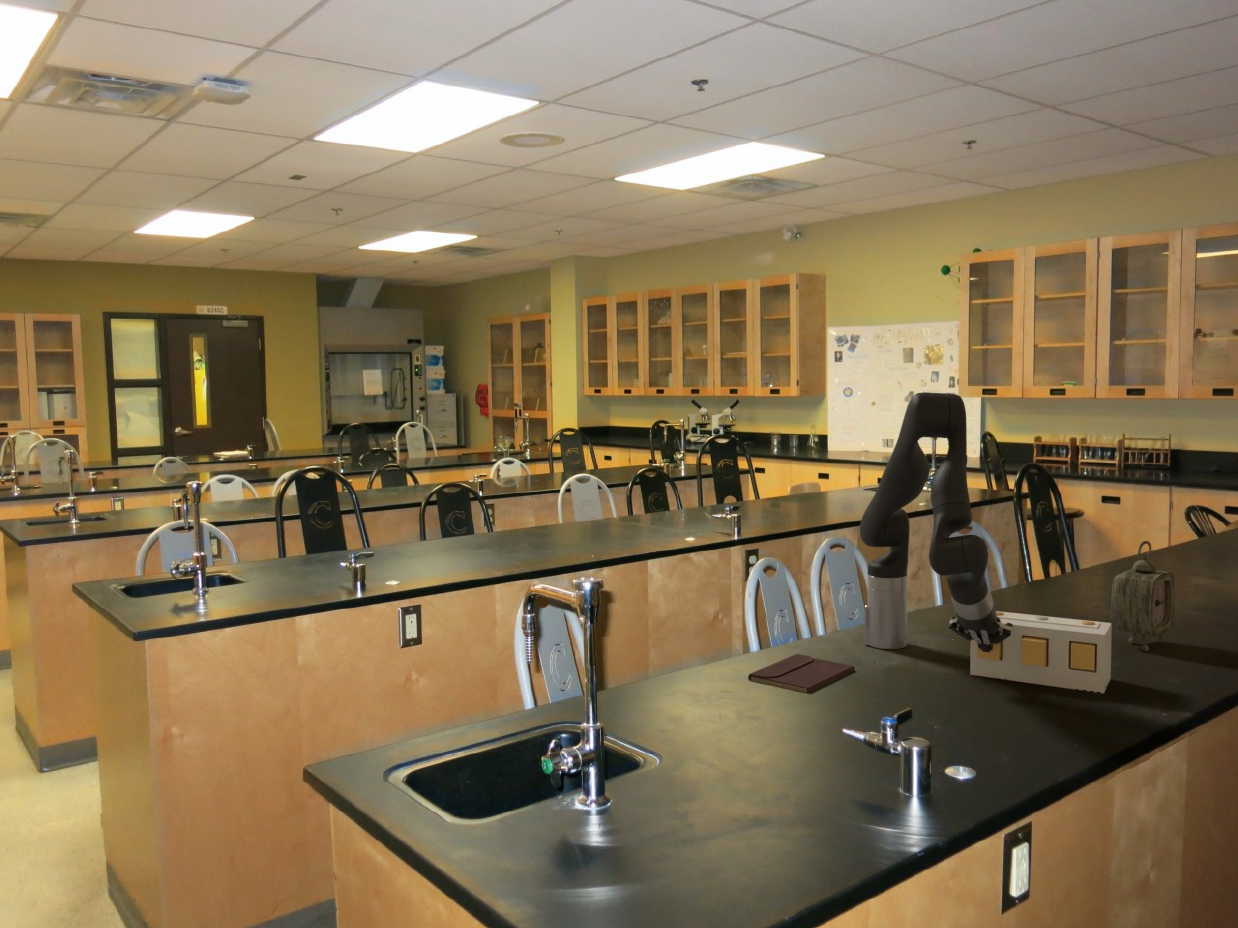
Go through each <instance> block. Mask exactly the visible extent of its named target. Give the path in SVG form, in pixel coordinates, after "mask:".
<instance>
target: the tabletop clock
mask: <svg viewBox="0 0 1238 928" xmlns="http://www.w3.org/2000/svg"><path fill="white" fill-rule="evenodd" d="M1145 545H1147V546H1148V552H1142V555H1141V551H1142V548H1143V547H1144V546H1145ZM1138 546H1139V547H1138V551H1137V554H1138V558H1139V560H1137V561H1135V562H1134V564H1133V566H1132V568H1131V569H1129V570H1125V571H1122V572H1121V573H1119V574H1116V575H1115V576H1114V577H1113V580H1112V586H1111V600H1110V601H1111V603H1110V604H1111V605H1110V607H1111V616H1110V617H1111V623H1112V626H1114V627H1115V628H1116V629H1118V630H1120V631H1121V632H1127V633H1132V636H1131V637H1129V638H1128V643H1129V644H1131V645H1135V644H1136V642H1137V638H1136V636H1137V635H1139V638H1140V641H1141V643H1142V645H1141V646H1140V649H1141V651H1143V652H1145V653H1147V652H1148V651H1149V650H1150V647H1149V645H1148V644H1146V639H1145V636H1152V637H1158V641H1159V643H1161V644H1162V643H1165V642H1167V638H1166V636H1164V634H1166V633H1167V632H1168V631H1170V629H1171V628H1172V626H1173V623H1174V612H1175V577H1174V576H1175V575H1174V573H1173V572H1170V571H1162V570H1158V569H1157V566H1156V564H1155V563H1154V562H1153V561H1151V560H1149V559H1148V558H1149V557H1150V555H1151V554H1152V544H1151V542H1150V541H1148V540H1143V541H1142V542H1141V543H1140V544H1139V545H1138Z"/></svg>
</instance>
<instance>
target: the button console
mask: <svg viewBox="0 0 1238 928" xmlns="http://www.w3.org/2000/svg"><path fill="white" fill-rule="evenodd" d="M996 615H997V617H998V618H999V619H1000V620H1001V623H1003V624H1006V623H1011V624H1013V626H1012V631H1011V636H1009V637H1008V638H1006V639H1004V640H1003V641H1002V658H1001V659H1000V660H999V661H997V660H990V659H982V658H977V643H976V642H975V640H973V639H972V640H971V641H969V642H970V649H969V650H970V652H969V654H970V655H969V657H970V661H969V663H970V667H969V668H970V670H969V672H970V674H969V675H970V676H975V677H976V676H979V677H984V678H992V679H998V678H999V680H1005V679H1006V680H1007V681H1011V682H1012V681H1013V682H1021V683H1026V684H1034V685H1040V686H1041V685H1043V686H1048V687H1056V688H1063V689H1069V690H1076V689H1078V690H1077V691H1083V690H1086V691H1085V692H1090V691H1093V692H1092V693H1097V692H1100V693H1099V694H1105V692H1106V689H1107V688H1108V686H1109V684H1108V683H1110V681H1111V677H1112V673H1111V672H1112V670H1111V669H1112V629H1113V628H1112V627H1113V625H1112V622H1106V621H1105V622H1103V621H1095V620H1094V621H1093V620H1087V619H1085V620H1084V619H1076V618H1075V619H1074V618H1066V617H1055V616H1047V615H1046V616H1045V615H1038V614H1027V613H1018V612H1017V613H1016V612H1007V611H999V610H996ZM998 629H999V628H998ZM1025 636H1027V637H1036V638H1044V639H1047V664H1046V666H1045V667H1041V666H1033V665H1025V664H1022V639H1023V638H1024V637H1025ZM1072 641H1077V642H1085V643H1094V644H1097V661H1096V669H1095V671H1093V670H1085V669H1077V668H1071V642H1072ZM1006 680H1005V681H1006ZM1107 685H1108V686H1107ZM1106 687H1107V688H1106Z"/></svg>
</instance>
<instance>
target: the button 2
mask: <svg viewBox="0 0 1238 928" xmlns="http://www.w3.org/2000/svg"><path fill="white" fill-rule="evenodd" d="M1096 661H1097V644H1094V643H1085V642H1077V641H1072V642H1071V668H1077V669H1085V670H1093V671H1095V669H1096Z"/></svg>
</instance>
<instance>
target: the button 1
mask: <svg viewBox="0 0 1238 928" xmlns="http://www.w3.org/2000/svg"><path fill="white" fill-rule="evenodd" d="M993 633H994V632H993ZM977 658H982V659H990V660H997V661H999V660H1000V659H1001V658H1002V641H1001V642H1000V643H998V644H994V645H993V650H992V651H991V650H990V653H989V652H982V649H979V648H978V644H977Z"/></svg>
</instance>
